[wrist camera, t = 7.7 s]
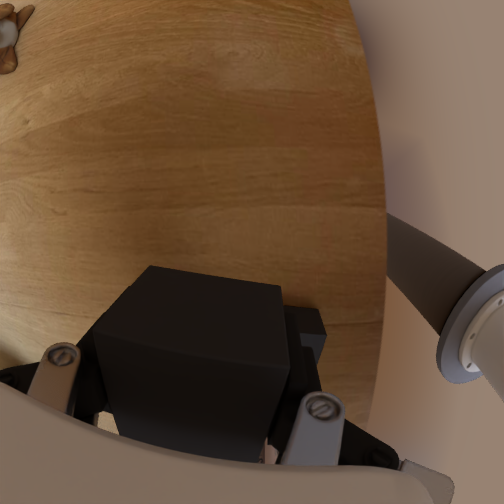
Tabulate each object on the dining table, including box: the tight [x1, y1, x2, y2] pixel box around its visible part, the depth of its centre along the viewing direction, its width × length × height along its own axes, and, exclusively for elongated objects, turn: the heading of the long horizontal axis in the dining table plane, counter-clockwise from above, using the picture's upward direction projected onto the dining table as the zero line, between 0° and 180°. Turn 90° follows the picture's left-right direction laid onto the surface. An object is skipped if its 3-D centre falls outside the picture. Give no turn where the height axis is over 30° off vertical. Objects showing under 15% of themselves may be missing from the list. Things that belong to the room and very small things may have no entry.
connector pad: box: [93, 265, 290, 463], centre depth 10 cm, size 5×11×4 cm, turn 172°
